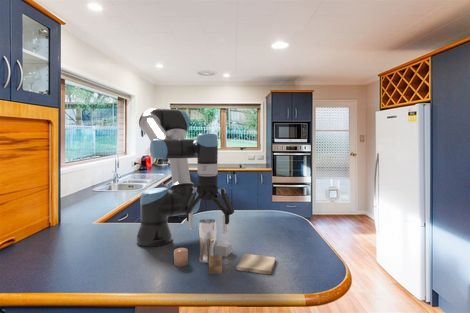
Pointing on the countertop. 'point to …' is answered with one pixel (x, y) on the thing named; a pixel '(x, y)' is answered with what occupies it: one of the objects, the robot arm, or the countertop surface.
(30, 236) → the countertop surface
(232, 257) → the countertop surface
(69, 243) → the countertop surface
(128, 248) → the countertop surface
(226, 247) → the grey plastic box
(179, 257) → the peach rounded capsule
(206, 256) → the silver metal cup
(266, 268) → the beech board
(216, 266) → the oak cube
